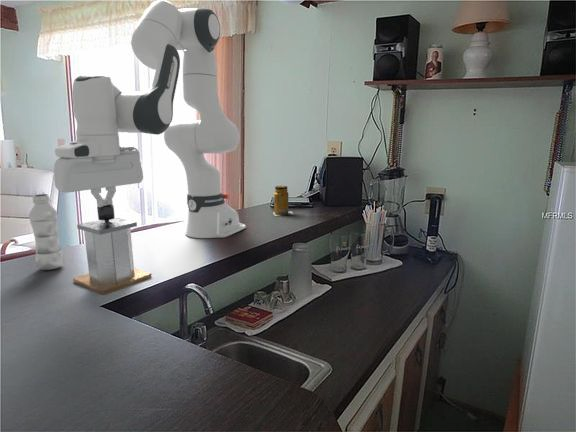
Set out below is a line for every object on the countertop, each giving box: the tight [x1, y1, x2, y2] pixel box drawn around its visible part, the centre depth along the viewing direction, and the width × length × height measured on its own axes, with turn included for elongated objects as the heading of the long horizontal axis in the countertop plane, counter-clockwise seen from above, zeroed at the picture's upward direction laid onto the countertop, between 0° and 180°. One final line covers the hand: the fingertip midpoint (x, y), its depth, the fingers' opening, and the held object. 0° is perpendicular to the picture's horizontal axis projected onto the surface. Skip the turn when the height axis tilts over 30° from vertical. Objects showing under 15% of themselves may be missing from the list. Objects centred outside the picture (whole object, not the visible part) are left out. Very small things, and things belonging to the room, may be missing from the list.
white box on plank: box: [72, 217, 152, 296], centre depth 99 cm, size 13×13×14 cm
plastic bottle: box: [28, 193, 65, 271], centre depth 106 cm, size 6×7×20 cm
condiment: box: [272, 185, 295, 217], centre depth 172 cm, size 7×8×12 cm
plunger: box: [96, 204, 115, 225], centre depth 99 cm, size 7×7×17 cm
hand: (105, 206), depth 97 cm, fingers closed, pressing on plunger
